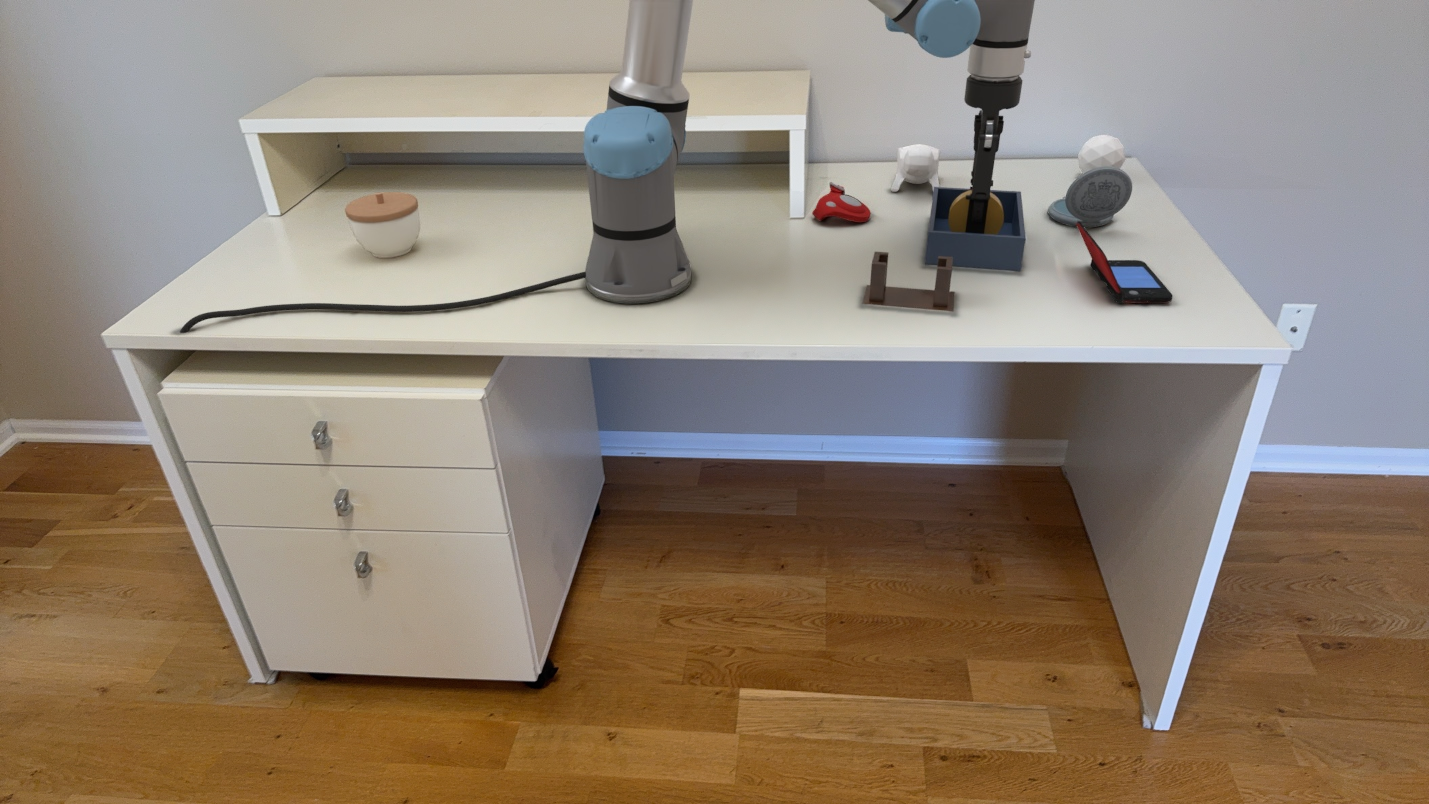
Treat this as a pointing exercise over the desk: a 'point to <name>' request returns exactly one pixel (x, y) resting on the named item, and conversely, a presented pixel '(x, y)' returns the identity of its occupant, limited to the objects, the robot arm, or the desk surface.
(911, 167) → the white animal figurine
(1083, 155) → the geometric ball
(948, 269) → the holder
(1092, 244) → the handheld console
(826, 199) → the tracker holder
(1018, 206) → the bin
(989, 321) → the desk surface
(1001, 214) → the disc
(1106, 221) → the pocket watch
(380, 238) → the trinket box
